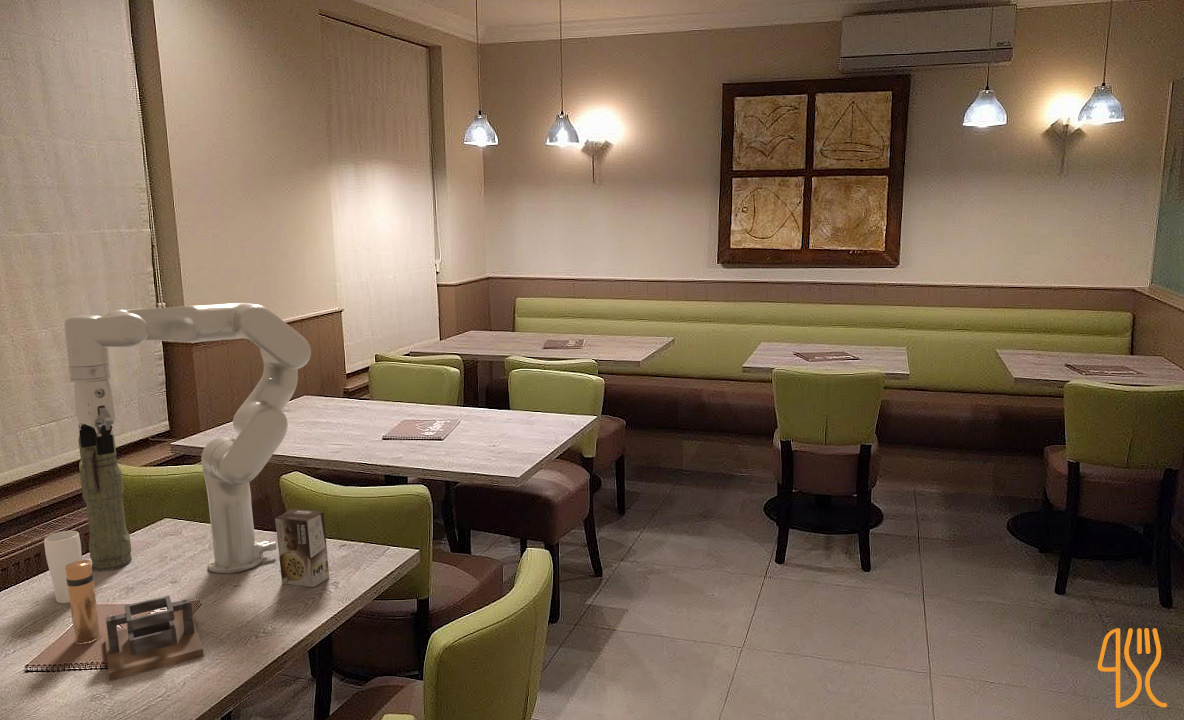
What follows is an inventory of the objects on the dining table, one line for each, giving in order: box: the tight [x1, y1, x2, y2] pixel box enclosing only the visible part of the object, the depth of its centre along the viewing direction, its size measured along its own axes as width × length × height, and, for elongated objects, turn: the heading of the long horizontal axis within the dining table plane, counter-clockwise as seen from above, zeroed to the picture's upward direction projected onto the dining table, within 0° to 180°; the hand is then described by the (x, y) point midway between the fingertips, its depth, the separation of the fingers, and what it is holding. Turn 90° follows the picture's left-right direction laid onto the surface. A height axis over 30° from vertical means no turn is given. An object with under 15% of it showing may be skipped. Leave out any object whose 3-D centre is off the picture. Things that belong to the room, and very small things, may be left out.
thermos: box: [78, 427, 133, 572], centre depth 209 cm, size 9×12×35 cm
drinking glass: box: [43, 530, 83, 605], centre depth 191 cm, size 7×7×15 cm
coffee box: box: [274, 508, 330, 588], centre depth 198 cm, size 9×6×16 cm
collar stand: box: [104, 595, 205, 681], centre depth 168 cm, size 16×18×8 cm
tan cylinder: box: [65, 559, 101, 643], centre depth 172 cm, size 5×5×16 cm
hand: (97, 450), depth 187 cm, fingers open, 9 cm apart
